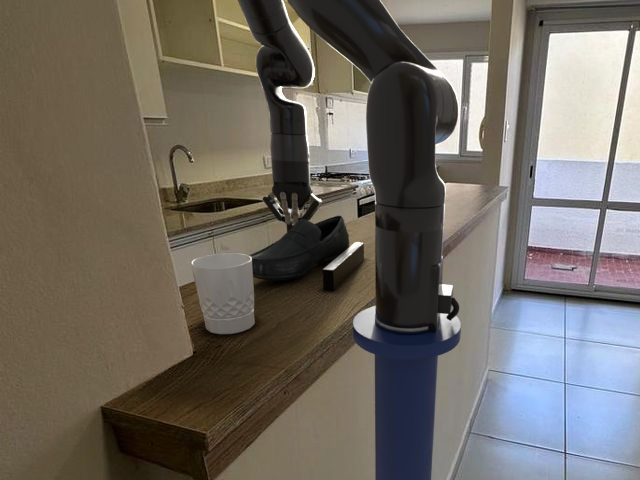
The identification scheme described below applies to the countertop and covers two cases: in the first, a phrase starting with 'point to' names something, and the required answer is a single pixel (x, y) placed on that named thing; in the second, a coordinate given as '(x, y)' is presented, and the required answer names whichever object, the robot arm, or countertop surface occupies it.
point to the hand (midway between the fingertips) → (295, 241)
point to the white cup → (225, 291)
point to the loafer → (301, 249)
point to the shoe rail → (342, 266)
